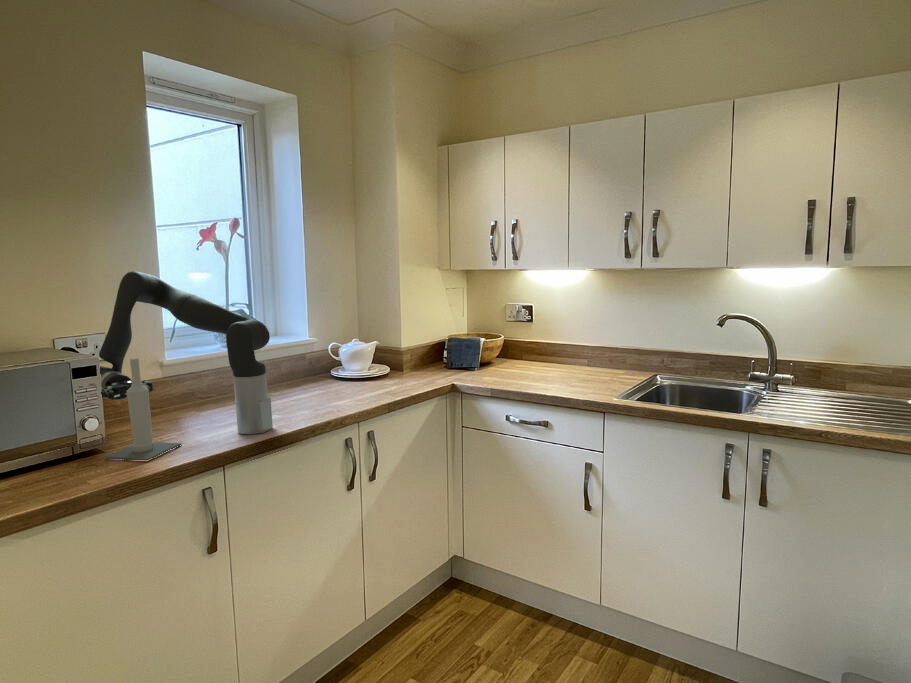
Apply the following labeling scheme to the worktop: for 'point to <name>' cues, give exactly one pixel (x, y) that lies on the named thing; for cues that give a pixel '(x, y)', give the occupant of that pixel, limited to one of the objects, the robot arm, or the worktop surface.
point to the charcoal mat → (131, 455)
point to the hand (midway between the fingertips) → (130, 393)
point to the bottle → (139, 411)
